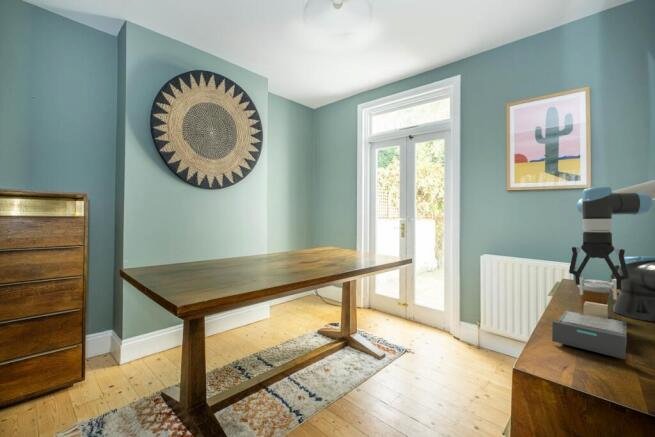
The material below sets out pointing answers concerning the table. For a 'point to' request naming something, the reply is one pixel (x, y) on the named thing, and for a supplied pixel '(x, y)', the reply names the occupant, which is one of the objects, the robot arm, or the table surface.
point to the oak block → (596, 309)
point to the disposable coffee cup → (594, 295)
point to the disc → (598, 284)
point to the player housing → (594, 322)
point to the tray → (589, 339)
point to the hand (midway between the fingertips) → (597, 296)
